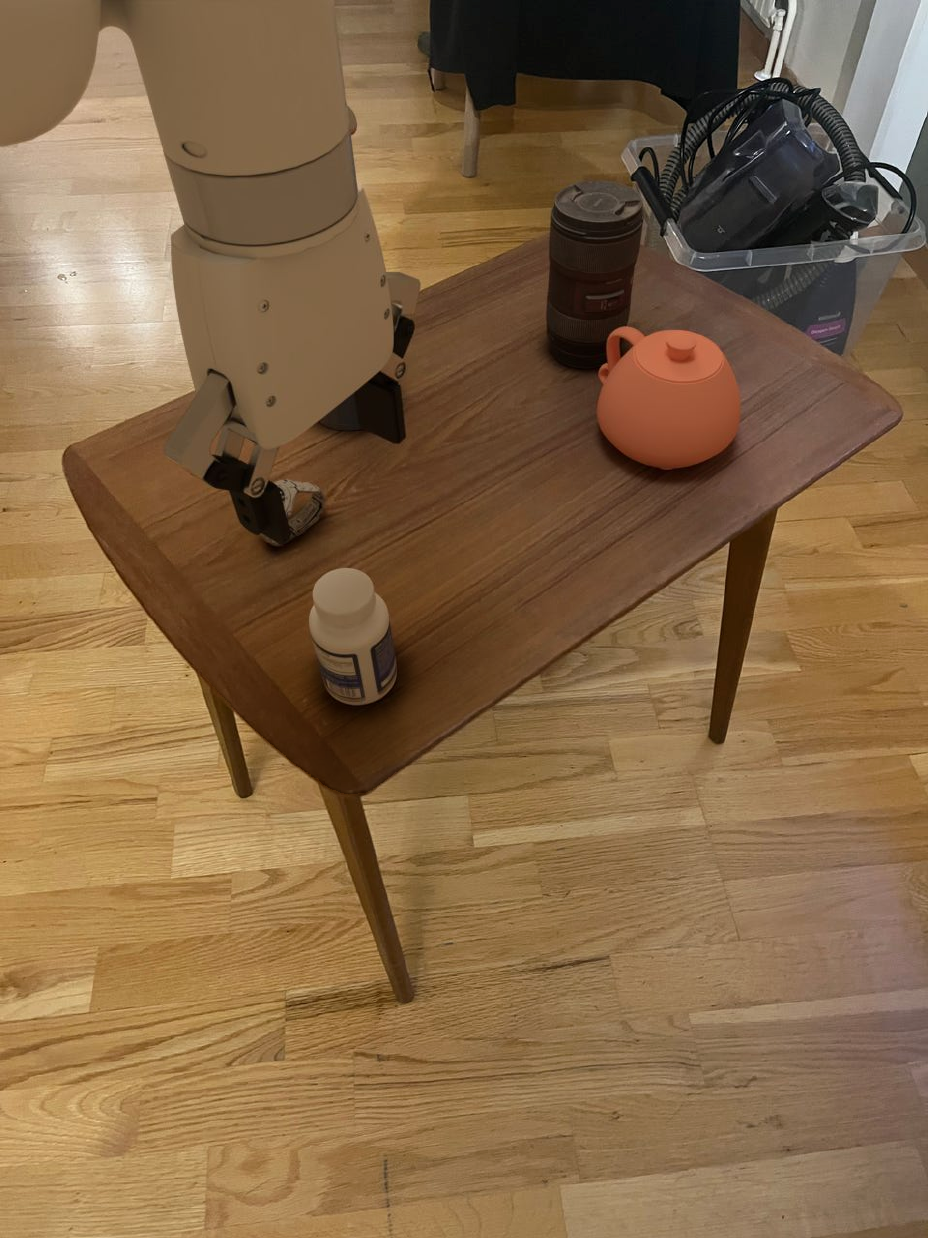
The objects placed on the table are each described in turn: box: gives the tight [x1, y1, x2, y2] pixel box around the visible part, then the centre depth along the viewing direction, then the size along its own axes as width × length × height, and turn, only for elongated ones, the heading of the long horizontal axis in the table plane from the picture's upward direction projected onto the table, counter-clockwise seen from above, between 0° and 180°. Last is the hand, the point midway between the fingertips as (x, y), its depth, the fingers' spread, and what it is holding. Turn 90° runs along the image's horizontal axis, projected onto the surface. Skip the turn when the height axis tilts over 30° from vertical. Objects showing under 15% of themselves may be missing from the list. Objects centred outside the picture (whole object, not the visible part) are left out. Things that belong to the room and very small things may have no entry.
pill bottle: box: [308, 567, 398, 706], centre depth 62 cm, size 5×5×10 cm
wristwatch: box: [259, 478, 326, 547], centre depth 74 cm, size 4×6×5 cm, turn 135°
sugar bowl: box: [596, 325, 742, 471], centre depth 78 cm, size 12×14×10 cm
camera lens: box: [545, 180, 645, 369], centre depth 84 cm, size 8×8×15 cm
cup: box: [318, 393, 364, 432], centre depth 83 cm, size 8×8×6 cm
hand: (327, 480), depth 52 cm, fingers open, 9 cm apart
